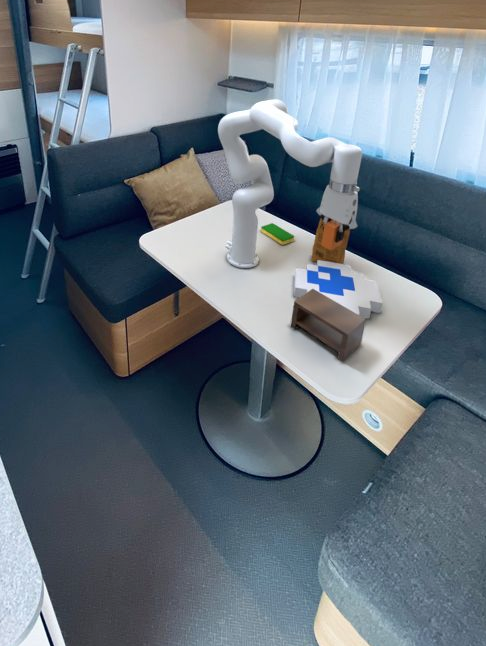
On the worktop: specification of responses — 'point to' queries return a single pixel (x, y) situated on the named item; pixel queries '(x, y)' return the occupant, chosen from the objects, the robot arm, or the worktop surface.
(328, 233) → the block
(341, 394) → the worktop surface
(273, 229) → the dish sponge
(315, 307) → the shelf
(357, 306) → the stepped white slab
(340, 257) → the coffee package
